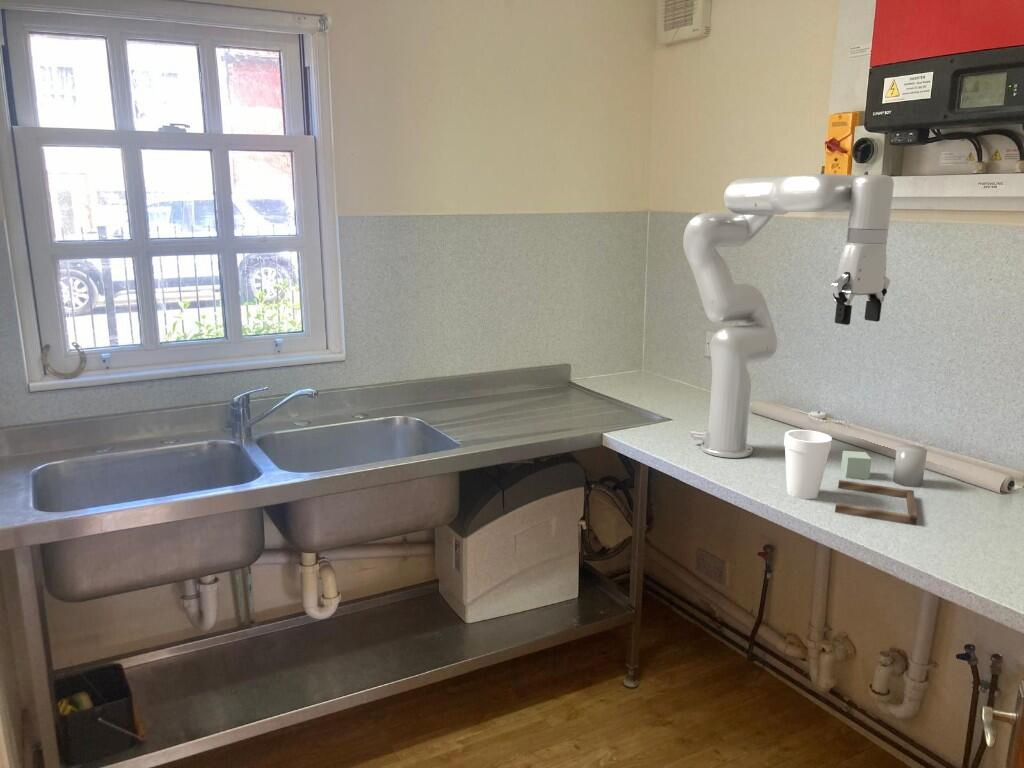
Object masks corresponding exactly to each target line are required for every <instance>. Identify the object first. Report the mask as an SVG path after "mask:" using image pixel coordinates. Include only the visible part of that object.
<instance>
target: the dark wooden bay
mask: <svg viewBox="0 0 1024 768" xmlns="http://www.w3.org/2000/svg"><path fill="white" fill-rule="evenodd" d="M837 489H842V490H847V491H848V490H849V491H854V492H855V491H856V492H861V493H862V492H863V493H870V494H875V495H882V496H891V497H896V498H904V499H906V503H907V504H906V505H907V512H908V514H907V513H901V512H893V511H889V510H888V511H887V510H883V509H881V510H880V509H875V508H868V507H862V506H857V505H856V506H855V505H851V504H850V505H849V504H844V503H843V504H842V503H837V502H836V503H835V508H834V512H835V513H837V514H845V515H850V516H857V517H862V518H869V519H876V520H881V521H888V522H895V523H900V524H905V525H906V524H907V525H912V526H917V522H918V513H917V507H916V499H915V491H914V490H911V489H904V488H899V487H898V488H897V487H891V486H883V485H877V484H872V483H871V484H870V483H864V482H857V481H848V480H843V479H839V480H838V485H837Z"/></svg>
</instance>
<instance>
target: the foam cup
mask: <svg viewBox="0 0 1024 768" xmlns="http://www.w3.org/2000/svg"><path fill="white" fill-rule="evenodd" d="M832 440H833V439H832V436H831V435H830V434H826V433H824V432H821V431H818V430H811V429H790V430H789V431H785V433H784V441H783V446H784V451H785V452H784V453H785V478H786V480H785V481H786V493H787V494H788V495H789V496H792V497H793V498H797V499H803V500H804V499H805V500H810V499H811V500H812V499H816V498H818V495H819V493H820V489H821V486H822V481H823V477H824V473H825V469H826V466H827V461H828V458H829V454H830V452H831V449H832V448H831V447H832Z"/></svg>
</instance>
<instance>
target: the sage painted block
mask: <svg viewBox="0 0 1024 768" xmlns="http://www.w3.org/2000/svg"><path fill="white" fill-rule="evenodd" d="M871 465H872V458H871V457H870V456H869V454H868V453H867V452H866V451H852V450H851V451H850V450H843V451H842V455H841V465H840V466H841V467H840V472H841V473H842V475H843V476H844V478H846V479H855V480H870V475H871V467H872V466H871Z"/></svg>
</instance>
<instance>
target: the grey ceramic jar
mask: <svg viewBox="0 0 1024 768" xmlns="http://www.w3.org/2000/svg"><path fill="white" fill-rule="evenodd" d="M927 452H928V450H927V448H924V447H922V446H919V445H916V444H915V445H914V444H898V445H897V446H896V452H895V461H894V466H893V467H894V469H893V475H892V481H893V482H894V483H895V484H897V485H899V486H903V487H908V488H921V487H922V486H923V482H924V475H925V469H926V468H925V467H926V461H927V455H928V453H927Z"/></svg>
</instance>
